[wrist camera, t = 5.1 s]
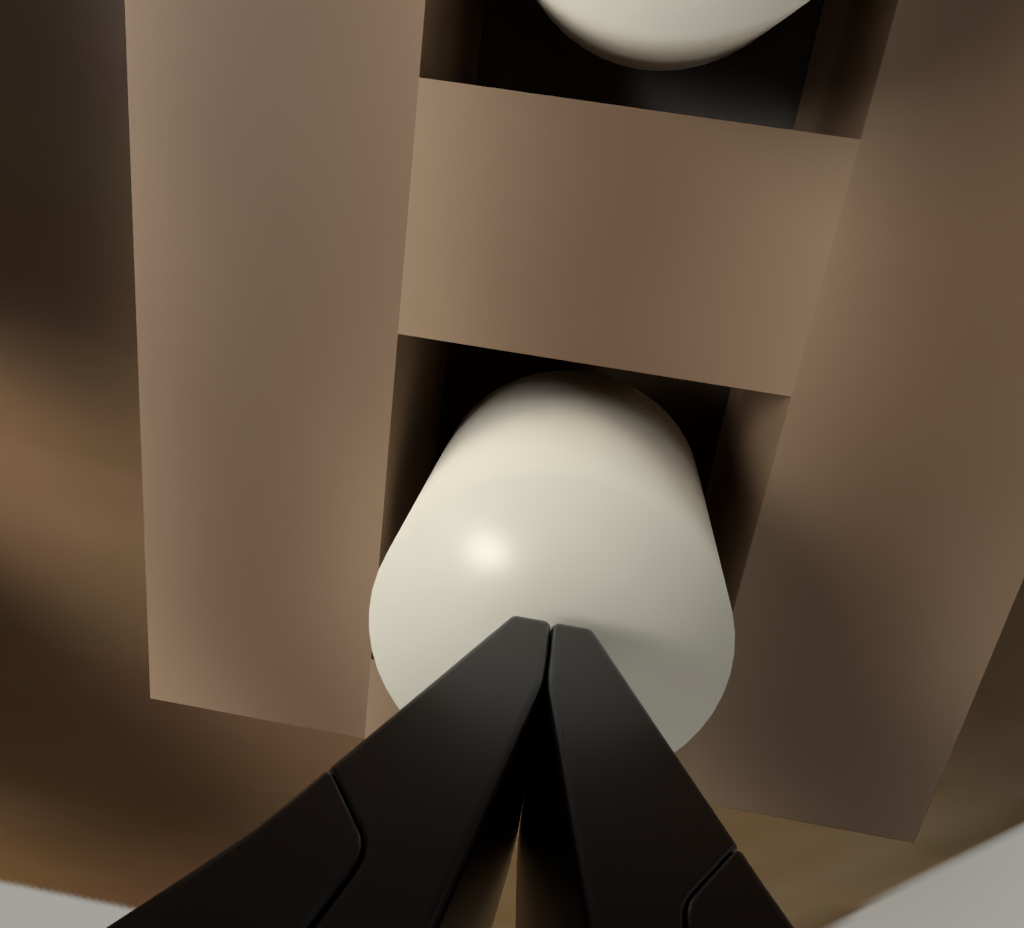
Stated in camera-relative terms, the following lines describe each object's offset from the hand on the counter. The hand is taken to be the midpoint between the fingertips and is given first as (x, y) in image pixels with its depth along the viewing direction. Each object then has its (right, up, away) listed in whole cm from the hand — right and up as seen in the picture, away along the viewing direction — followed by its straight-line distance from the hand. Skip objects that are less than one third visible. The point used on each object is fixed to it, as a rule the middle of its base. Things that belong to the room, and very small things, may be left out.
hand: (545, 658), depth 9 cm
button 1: (0, +2, +4) cm, 4 cm away
